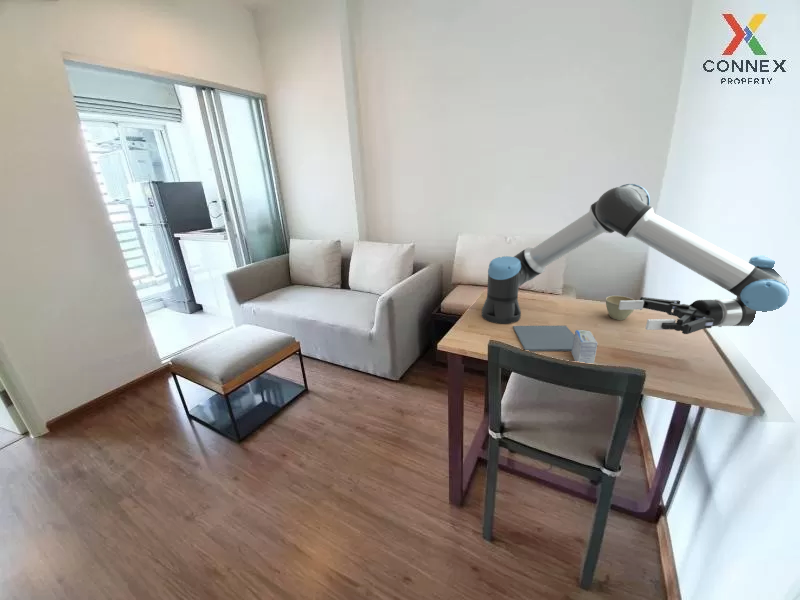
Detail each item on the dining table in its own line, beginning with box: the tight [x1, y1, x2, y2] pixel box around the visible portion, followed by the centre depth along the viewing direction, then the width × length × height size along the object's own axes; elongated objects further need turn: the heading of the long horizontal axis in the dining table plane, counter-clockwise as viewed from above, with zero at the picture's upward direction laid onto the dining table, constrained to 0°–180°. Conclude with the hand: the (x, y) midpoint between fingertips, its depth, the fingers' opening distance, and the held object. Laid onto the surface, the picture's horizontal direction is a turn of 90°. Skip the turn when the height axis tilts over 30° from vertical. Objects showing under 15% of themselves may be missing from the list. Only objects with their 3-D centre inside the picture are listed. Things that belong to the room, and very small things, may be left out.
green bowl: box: [605, 295, 635, 321], centre depth 126 cm, size 10×10×7 cm
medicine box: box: [571, 329, 598, 364], centre depth 100 cm, size 8×4×9 cm, turn 166°
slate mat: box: [512, 325, 575, 352], centre depth 115 cm, size 19×17×1 cm
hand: (632, 314), depth 94 cm, fingers open, 13 cm apart
